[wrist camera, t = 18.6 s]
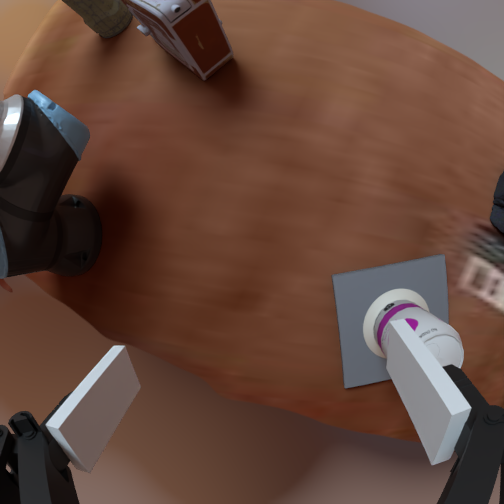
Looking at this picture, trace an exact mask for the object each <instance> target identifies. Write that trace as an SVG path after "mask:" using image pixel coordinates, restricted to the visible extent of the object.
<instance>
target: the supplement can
mask: <svg viewBox="0 0 504 504" xmlns="http://www.w3.org/2000/svg"><path fill="white" fill-rule="evenodd" d="M400 319H405V320H406V322H407V323H408V324H409V325H410V327H411V328H412V329H413V330H414V332H415V333H416V334H417V335H418V337H419V338H420V339H421V340H422V342H423V343H424V344H425V345H426V347H427V348H428V349H429V351H430V352H431V353H432V354H433V356H434V357H435V358H436V360H437V361H438V362H439V364H440V365H441V366H442V367H443V366H447V365H450V364H453V365H454V366H456V367H458V368H461V366H462V363H463V354H464V350H463V347H462V342H461V339H460V336H459V334H458V333H457V332H456V331H455V330H454V329H453V328H452V327H451V326H450V325H448V324H447V323H445V322H444V321H442V320H441V319H439V318H437V317H436V316H434V315H433V314H431V313H430V312H428V311H427V310H425V309H423V308H422V307H420V306H419V305H417V304H416V303H414V302H411V301H409V300H396V301H393V302H391V303H389V304H387V305H386V306H385V307H384V308H383V309H382V310H381V311H380V312H379V314H378V315H377V317H376V319H375V323H374V327H373V332H374V338H375V340H376V342H377V344H378V346H379V348H380V349H381V351H382V352H383V354H384V355H385V357H386V358H387V354H388V341H389V322H390V321H395V320H400Z"/></svg>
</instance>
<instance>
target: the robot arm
mask: <svg viewBox="0 0 504 504" xmlns="http://www.w3.org/2000/svg"><path fill="white" fill-rule="evenodd" d="M89 138H90V132H89V129H88V127H87V126H86V125H85V124H83V123H82V122H81V121H79V120H78V119H76V118H75V117H74V116H72V115H71V114H70V113H68V112H67V111H65V110H64V109H63V108H61V107H60V106H58V105H57V104H56V103H54V102H53V101H51V100H50V99H49V98H47V97H46V96H45V95H43V94H42V93H40V92H39V91H37V90H33V91H32V92H31V93H30V94H29V95H28V98H25V97H23V96H20V95H14V96H12V97H10V98H8V99H6V100H4V101H0V278H2V279H3V278H6V277H11V276H17V275H22V274H28V273H33V272H39V271H45V270H46V271H49V272H53V273H56V274H59V275H62V276H76V275H80V274H83V273H85V272H86V271H88V270H89V269H90V268H91V267H92V265H93V264H94V263H95V261H96V259H97V257H98V254H99V251H100V247H101V240H102V229H101V223H100V218H99V215H98V213H97V211H96V209H95V207H94V206H93V204H92V203H91V202H90V201H89V200H88V199H86V198H84V197H82V196H79V195H72V194H67V195H62V192H63V190H64V188H65V186H66V184H67V182H68V180H69V178H70V176H71V174H72V172H73V170H74V168H75V166H76V164H77V162H78V161H80V160H81V155H82V153H83V151H84V149H85V147H86V145H87V143H88V141H89ZM61 195H62V196H61ZM386 369H387V371H388V373H389V375H390V377H391V379H392V381H393V383H394V385H395V387H396V389H397V391H398V393H399V395H400V397H401V399H402V401H403V403H404V405H405V407H406V409H407V411H408V413H409V416H410V418H411V420H412V422H413V424H414V426H415V428H416V431H417V433H418V435H419V437H420V439H421V442H422V444H423V446H424V448H425V450H426V453H427V455H428V458H429V460H430V462H431V465H434V464H437V463H440V462H443V461H446V460H448V459H450V457H451V455H452V453H453V451H454V450H455V451H456V453H457V455H458V458H457V460H456V462H455V464H454V466H453V468H452V469H451V471H450V472H451V474H450V477H449V479H448V481H447V483H446V486H445V488H444V490H443V492H442V494H441V497H440V498H439V500H438V502H437V504H488V503H489V499H490V497H491V494H492V491H493V488H494V484H495V481H496V478H497V474H498V470H499V466H500V464H501V482H500V501H499V504H504V409H503V408H502V407H499V406H496V405H489V404H488V403H487V402H486V400H485V399H484V398H483V396H482V395H481V394H480V392H479V391H478V390H477V389H476V387H475V386H474V385H473V384H472V382H471V381H470V380H469V378H468V379H467V376H466V375H465V374H464V372H463V371H462V370H461V369H460V368H458V367H456V366H454V365H453V364H450V365H447V366H443V367H442V366H441V365H440V364H439V362H438V361H437V360H436V358H435V357H434V356H433V354H432V353H431V352H430V351H429V349H428V348H427V347H426V345H425V344H424V343H423V342H422V340H421V339H420V338H419V337H418V335H417V334H416V333H415V332H414V330H413V329H412V328H411V327H410V325H409V324H408V323H407V322H406V320H405V319H400V320H395V321H390V322H389V341H388V354H387V366H386ZM140 388H141V386H140V383H139V381H138V378H137V376H136V373H135V371H134V368H133V366H132V363H131V360H130V357H129V355H128V352H127V349H126V346H113V347H112V348H111V349H110V350H109V351H108V353H107V354H106V355H105V356H104V357H103V358H102V359H101V360H100V361H99V363H98V364H97V365H96V366H95V367H94V368H93V369H92V370H91V372H90V373H89V374H88V375H87V376H86V377H85V379H84V380H83V381H82V382H81V383H80V384H79V385H78V387H77V388H76V389H75V390H74V391H72V392H71V393H69V394H68V395H67V396H65V397H64V398H63V399H62V400H61V401H60V403H59V405H57V406H56V407H55V410H53V411H52V412H51V413H50V414H49V415H48V416H47V418H46V419H45V420H44V421H43V423H42V424H41V425H40V426H39V425H38V424H37V422H36V420H35V419H34V417H33V416H32V414H31V413H29V412H28V411H21V412H18V413H16V414H15V415H13V416H12V417H11V419H10V420H9V423H8V424H9V425H10V427H11V428H12V430H13V431H14V433H15V434H11V433H10V431H9V430H8V428H7V427H6V426H4V425H0V504H79V500H78V497H77V493H76V490H75V486H74V482H73V478H72V474H71V470H70V468H69V467H68V466H67V465H68V463H69V462H70V461H71V462H72V464H73V465H74V466H75V467H76V469H78V470H81V471H84V472H88V473H90V472H91V470H92V469H93V467H94V465H95V464H96V462H97V460H98V459H99V457H100V455H101V453H102V451H103V450H104V448H105V447H106V445H107V443H108V442H109V440H110V438H111V436H112V435H113V433H114V431H115V430H116V428H117V426H118V425H119V423H120V421H121V420H122V418H123V416H124V415H125V413H126V411H127V409H128V408H129V406H130V405H131V403H132V401H133V400H134V398H135V396H136V395H137V393H138V391H139V390H140ZM6 464H7V465H8V466H9V467H10V468H11V472H10V473H9V472H8V471H7V470H6Z"/></svg>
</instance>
